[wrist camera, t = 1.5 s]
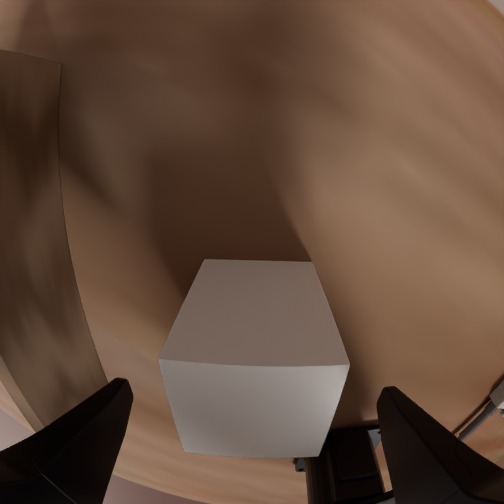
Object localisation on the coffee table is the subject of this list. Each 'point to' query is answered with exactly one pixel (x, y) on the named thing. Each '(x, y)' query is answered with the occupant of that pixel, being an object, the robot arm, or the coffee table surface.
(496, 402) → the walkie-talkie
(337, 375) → the white rectangular block
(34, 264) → the walnut screen
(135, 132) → the coffee table surface
